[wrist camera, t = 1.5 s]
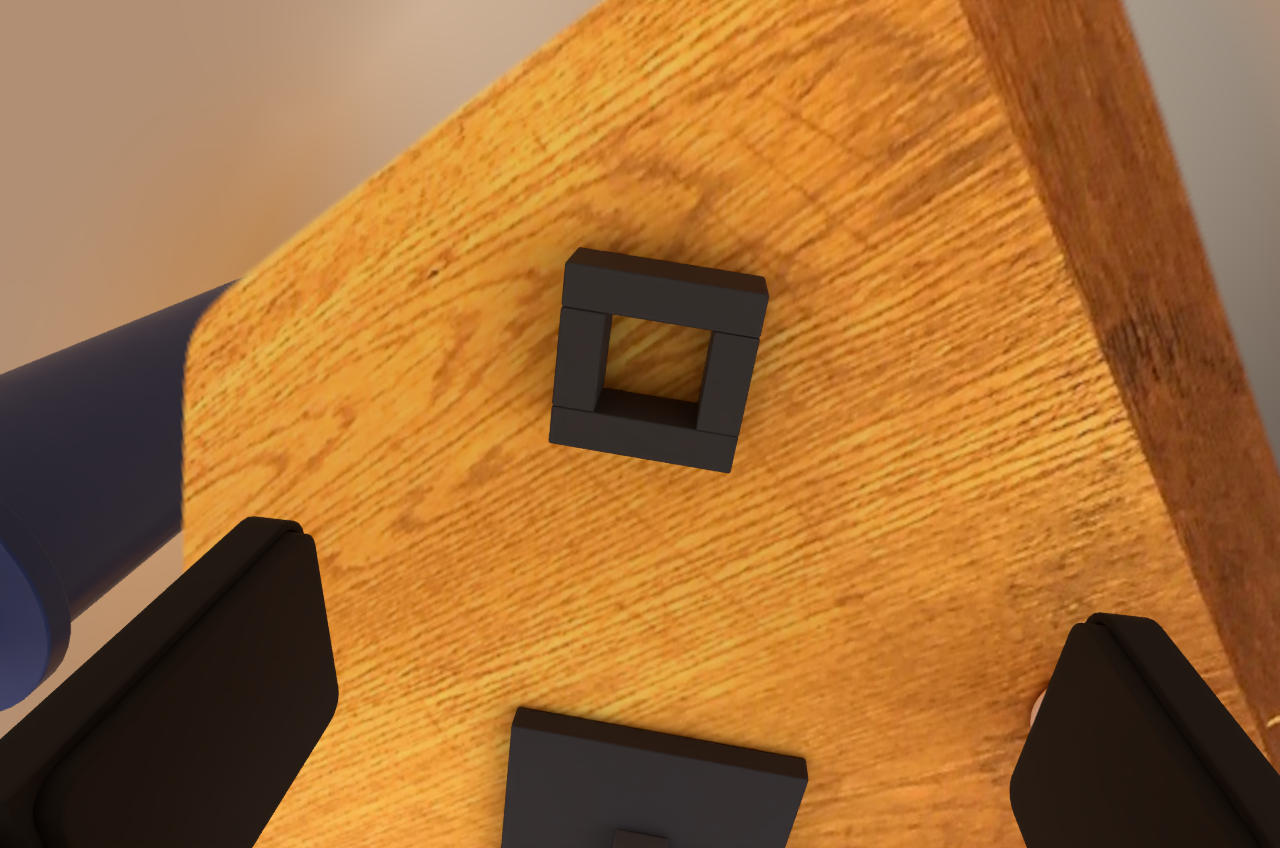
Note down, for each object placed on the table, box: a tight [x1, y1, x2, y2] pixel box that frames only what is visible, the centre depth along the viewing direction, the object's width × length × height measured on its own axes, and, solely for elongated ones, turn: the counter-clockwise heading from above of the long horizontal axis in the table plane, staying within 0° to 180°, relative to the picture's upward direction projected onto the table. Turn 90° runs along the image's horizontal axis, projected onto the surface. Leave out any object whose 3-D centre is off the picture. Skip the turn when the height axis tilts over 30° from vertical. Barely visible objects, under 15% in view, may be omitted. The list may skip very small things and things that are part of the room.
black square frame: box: [549, 247, 769, 473], centre depth 26 cm, size 7×7×2 cm
